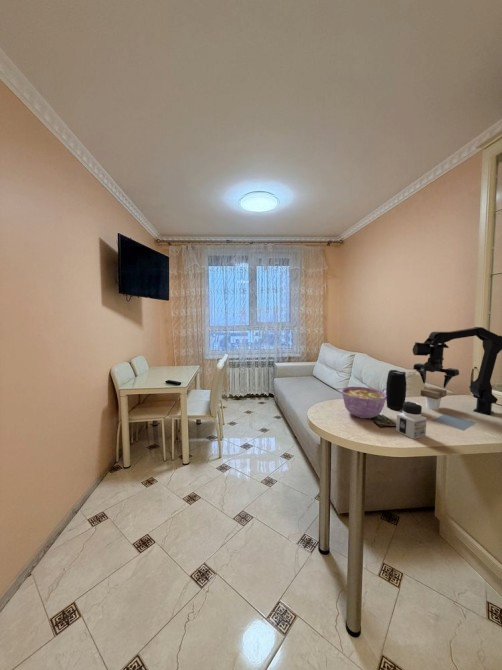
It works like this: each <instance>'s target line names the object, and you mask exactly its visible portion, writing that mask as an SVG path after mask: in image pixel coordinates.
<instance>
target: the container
mask: <svg viewBox="0 0 502 670" xmlns="http://www.w3.org/2000/svg"><path fill="white" fill-rule="evenodd" d="M422 410H423V409H422V405H421V404H419V403H417V402H414V401H405V402H404V403H403V408H402V412H399V413H397V414H396V424H395V432H397V433H399V434H401V435H403V434H404V436H405V435H406V437H407V438H411V439H412V440H415V439H419V438H422V437H425V436H426V435H427V419H428V418H427V417H425V416H423V415H422Z"/></svg>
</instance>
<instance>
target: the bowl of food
mask: <svg viewBox="0 0 502 670" xmlns="http://www.w3.org/2000/svg"><path fill="white" fill-rule="evenodd" d="M341 393H342V398H343V402H344V403H343V404H344V408H345V409H346V410H347V411H348V412H349V413H350V414H352V415H353V416H354V415H355V416H354V417H356V416H357V417H356V418H358V417H360V418H359V419H363V418H369V419H371V418H375V417H378V416H379V415H380V414H381V413H382V411H383V408H384V406H385V403H386V397H387V395H386V392H384V391H382V390H379V389H376V388H372V387H366V386H346V387H344V388H342V389H341Z"/></svg>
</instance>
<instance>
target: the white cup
mask: <svg viewBox="0 0 502 670" xmlns="http://www.w3.org/2000/svg"><path fill="white" fill-rule="evenodd" d="M441 401H442V398H440V399H437V400H436V399H432V398H429V397H425V408H427V409H429V410H433V411H434V410H435V411H439V410H440V407H441Z"/></svg>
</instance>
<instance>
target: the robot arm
mask: <svg viewBox="0 0 502 670" xmlns="http://www.w3.org/2000/svg"><path fill="white" fill-rule="evenodd" d="M469 337H477V338H478V339H479V340H480V341H482V348H483V356H482V358H481V359H482V360H481V364H480V368H479V372H478V375H477V378H476V379H474V380H471V381H470V385H469V387H468V389H469V391H470V393H471V394H472V396H473V398H476V404H475V405H476V407H475V408H474V409H473V412H476V413H481V414H485V415H487V416H489V415H492V414H494V413H495V411H492V409H493V408H492V407H493V404H497V402H498V398H497V397H496V396H495V395H494V394H493V386H492V383H491V380H492V377H493V376H492V375H493V374H494V373H493V372H494V369H495V366H496V360H497V357H498V354H499V353H500V352H502V335H498V334H496V333H494V332H492V331H490V330H488V329H486V328H485V327H480V326H474V327H470V328H464V329H459V330H458V329H457V330H451V331H432V332H430V334H429V335H428V337H427V338H426V339H425V341H424V342H416V341H415V342H414V344H413V347H412V353H413V355H414V356H424V357H425V356H426V357H428V356H429V357H428V358H427V361H425V362H424V363H414V365H413V367H412V369H413V370H415V371H416V372H417V373H419V375H420V377H421V380H422V383H423V384H426V381H427V372H430V373H435V372H439V373H444V376H443V377H444V379H443V388H444V389H445V388H447V386H448V384H449V382H450V381H451V380H452V378H453V377H457V376H459V375H460V371H459V369H458V368H452V367H451V368H450V367H449V368H444V365H443V361H444V359H445V358H444V350H445V349H449V348H450V347H449V346H448V344H446V343H448V342H450V341H452V340H456V339H462V338H469Z"/></svg>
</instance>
